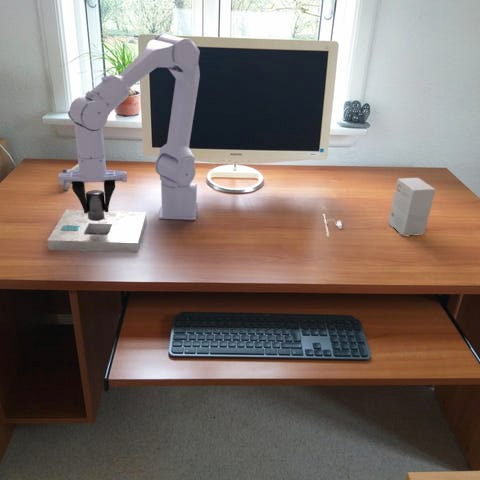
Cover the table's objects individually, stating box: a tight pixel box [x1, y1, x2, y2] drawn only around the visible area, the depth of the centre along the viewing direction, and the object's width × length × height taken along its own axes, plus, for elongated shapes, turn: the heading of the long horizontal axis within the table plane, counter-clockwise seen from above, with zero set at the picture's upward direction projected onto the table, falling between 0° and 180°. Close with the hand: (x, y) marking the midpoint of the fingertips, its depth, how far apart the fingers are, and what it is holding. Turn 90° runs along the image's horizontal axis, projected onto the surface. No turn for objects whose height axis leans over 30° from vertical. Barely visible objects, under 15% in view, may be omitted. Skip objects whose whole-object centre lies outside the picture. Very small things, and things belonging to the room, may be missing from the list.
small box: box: [387, 177, 436, 237], centre depth 130 cm, size 8×6×13 cm
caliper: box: [62, 163, 79, 191], centre depth 150 cm, size 20×1×6 cm, turn 3°
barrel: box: [85, 189, 106, 221], centre depth 116 cm, size 4×4×6 cm
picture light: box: [322, 213, 343, 238], centre depth 132 cm, size 14×4×2 cm, turn 177°
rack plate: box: [46, 208, 148, 253], centre depth 121 cm, size 20×16×3 cm
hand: (96, 211), depth 116 cm, fingers closed on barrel, 4 cm apart
